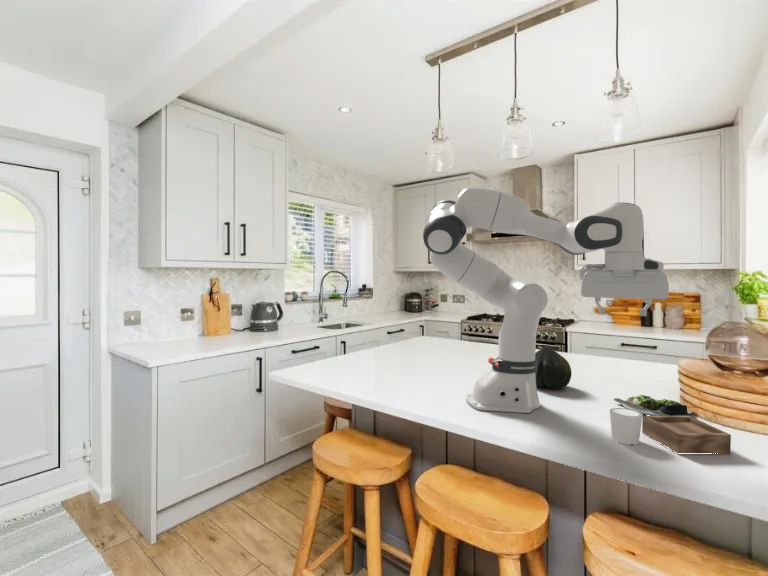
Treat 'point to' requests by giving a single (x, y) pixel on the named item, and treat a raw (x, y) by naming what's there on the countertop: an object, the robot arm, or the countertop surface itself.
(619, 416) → the shot glass
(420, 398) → the countertop surface
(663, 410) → the salad plate
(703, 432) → the walnut stand
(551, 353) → the squash
